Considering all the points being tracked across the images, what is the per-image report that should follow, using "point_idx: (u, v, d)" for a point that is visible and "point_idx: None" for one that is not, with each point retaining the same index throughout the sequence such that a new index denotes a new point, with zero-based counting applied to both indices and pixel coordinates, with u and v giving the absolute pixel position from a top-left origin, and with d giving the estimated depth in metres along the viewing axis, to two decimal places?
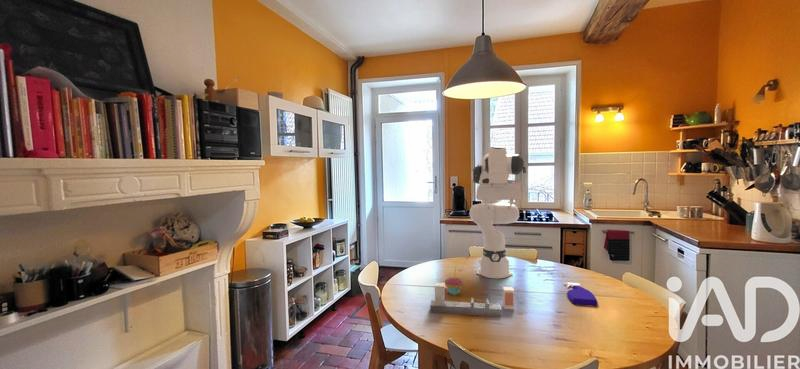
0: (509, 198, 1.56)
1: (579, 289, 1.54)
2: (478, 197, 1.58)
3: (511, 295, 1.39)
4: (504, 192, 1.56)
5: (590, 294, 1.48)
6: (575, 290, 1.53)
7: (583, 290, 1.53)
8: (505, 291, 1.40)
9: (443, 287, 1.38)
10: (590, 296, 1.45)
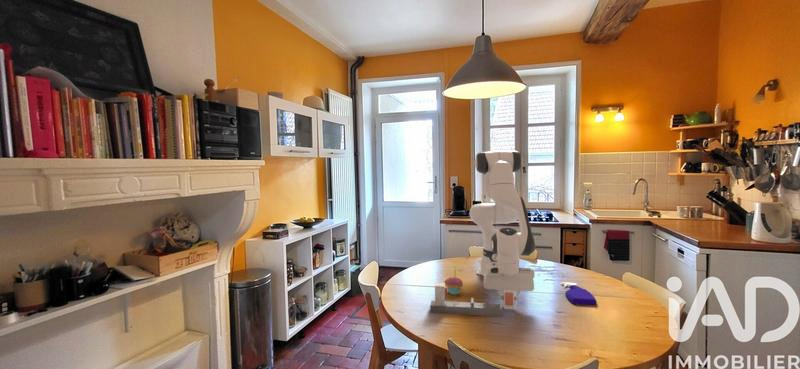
0: (520, 289, 1.39)
1: (577, 289, 1.55)
2: (486, 287, 1.42)
3: (511, 295, 1.39)
4: (515, 282, 1.39)
5: (588, 294, 1.48)
6: (573, 290, 1.53)
7: (581, 290, 1.53)
8: (505, 291, 1.40)
9: (443, 287, 1.38)
10: (588, 296, 1.46)
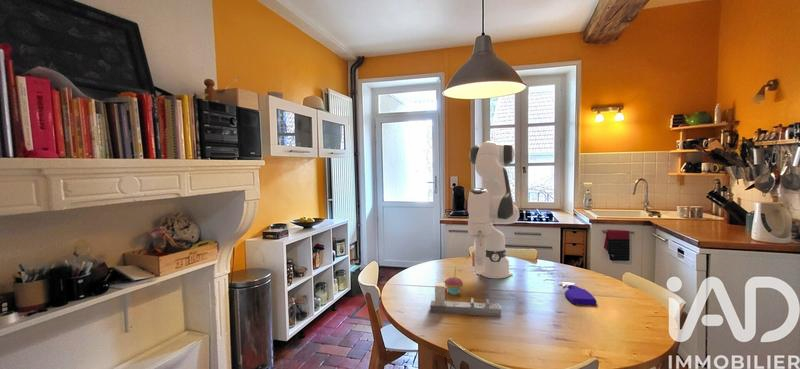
0: None
1: (576, 289, 1.55)
2: None
3: (472, 255, 1.36)
4: None
5: (588, 293, 1.48)
6: (572, 290, 1.53)
7: (580, 290, 1.53)
8: (474, 251, 1.38)
9: (443, 287, 1.38)
10: (588, 295, 1.46)
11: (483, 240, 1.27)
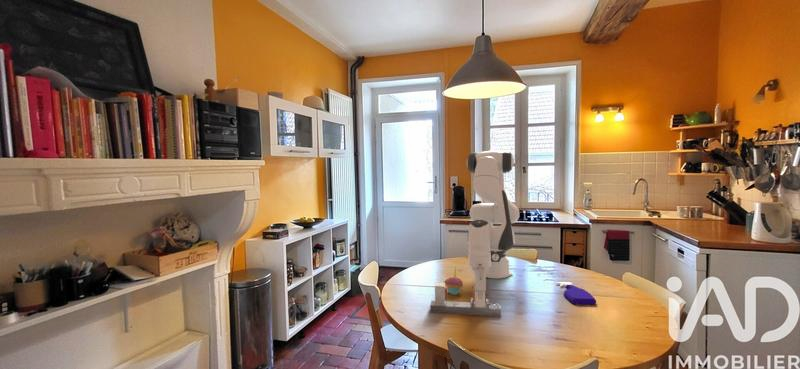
0: None
1: (574, 288, 1.55)
2: (474, 273, 1.46)
3: None
4: (475, 276, 1.34)
5: (587, 293, 1.49)
6: (571, 290, 1.53)
7: (579, 289, 1.54)
8: (474, 285, 1.39)
9: (443, 287, 1.38)
10: (587, 295, 1.46)
11: (483, 274, 1.27)
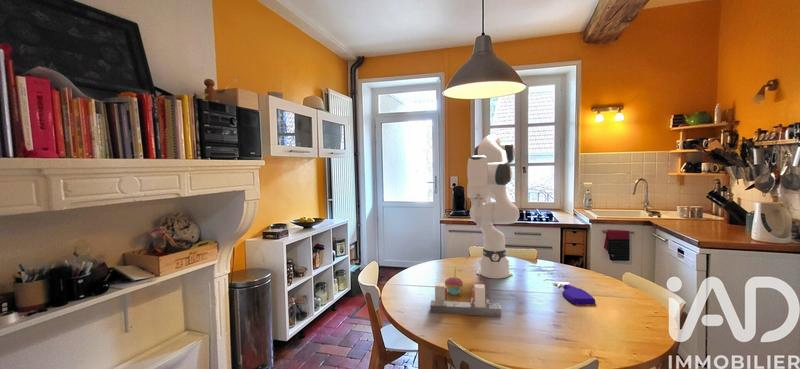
0: None
1: (572, 288, 1.55)
2: None
3: None
4: None
5: (585, 293, 1.49)
6: (569, 290, 1.54)
7: (577, 289, 1.54)
8: (474, 285, 1.39)
9: (443, 287, 1.38)
10: (586, 295, 1.47)
11: (481, 201, 1.35)
